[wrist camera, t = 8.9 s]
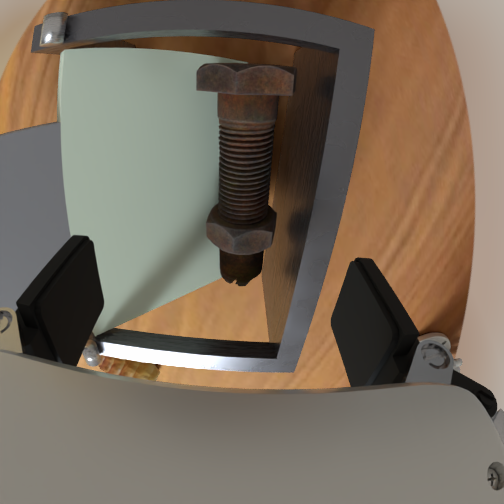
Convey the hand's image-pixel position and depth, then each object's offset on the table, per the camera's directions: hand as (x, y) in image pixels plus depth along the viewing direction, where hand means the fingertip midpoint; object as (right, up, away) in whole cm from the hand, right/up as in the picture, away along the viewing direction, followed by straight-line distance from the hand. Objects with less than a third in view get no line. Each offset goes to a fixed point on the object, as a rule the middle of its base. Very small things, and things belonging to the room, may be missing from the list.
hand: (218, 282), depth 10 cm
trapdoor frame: (-3, +8, +14) cm, 16 cm away
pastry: (-16, -14, +27) cm, 34 cm away
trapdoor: (-12, +6, +7) cm, 15 cm away
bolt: (-2, +6, +8) cm, 10 cm away
